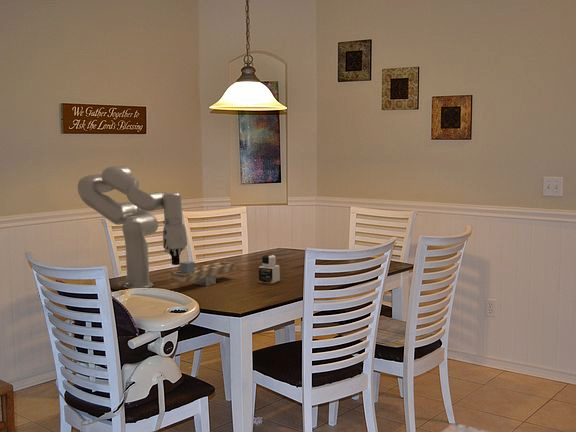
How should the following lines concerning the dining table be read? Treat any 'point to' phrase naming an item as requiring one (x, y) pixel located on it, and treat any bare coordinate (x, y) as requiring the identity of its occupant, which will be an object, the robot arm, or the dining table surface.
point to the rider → (187, 267)
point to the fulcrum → (206, 280)
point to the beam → (204, 271)
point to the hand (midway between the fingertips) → (175, 264)
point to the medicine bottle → (269, 270)
